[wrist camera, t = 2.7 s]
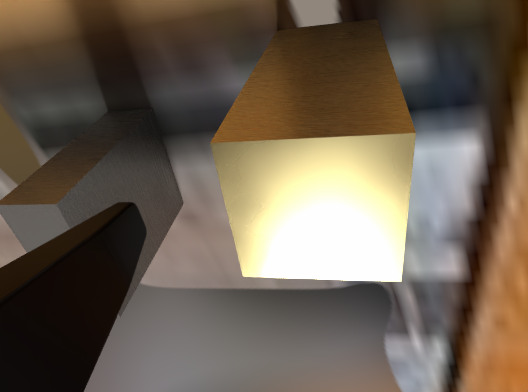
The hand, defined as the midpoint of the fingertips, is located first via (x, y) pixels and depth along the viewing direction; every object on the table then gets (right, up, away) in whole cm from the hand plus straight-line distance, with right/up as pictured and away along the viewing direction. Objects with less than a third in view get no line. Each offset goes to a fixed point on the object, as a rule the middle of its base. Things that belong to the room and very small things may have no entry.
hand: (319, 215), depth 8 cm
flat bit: (-8, +2, +12) cm, 15 cm away
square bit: (+2, +6, +8) cm, 10 cm away
